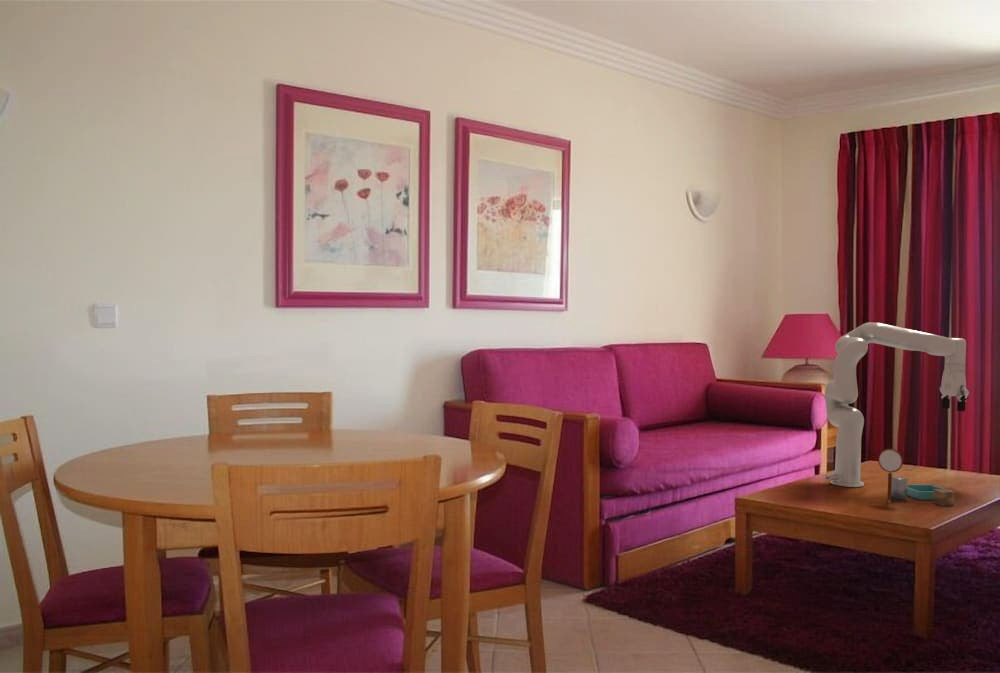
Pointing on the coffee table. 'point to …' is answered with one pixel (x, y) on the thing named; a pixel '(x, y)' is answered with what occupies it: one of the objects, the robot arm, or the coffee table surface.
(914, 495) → the teal tray
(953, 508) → the coffee table surface
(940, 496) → the walnut block
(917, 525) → the coffee table surface
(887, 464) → the magnifying glass
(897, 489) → the metal tin
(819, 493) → the coffee table surface
